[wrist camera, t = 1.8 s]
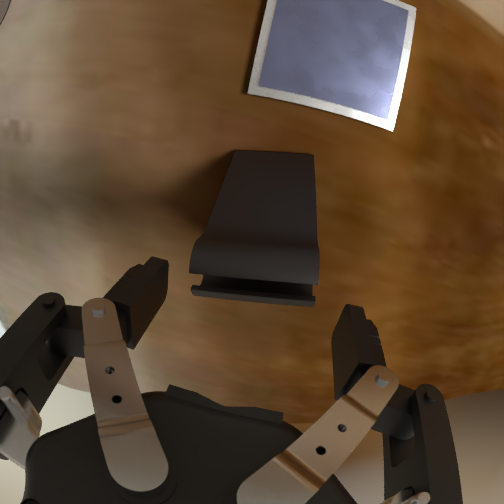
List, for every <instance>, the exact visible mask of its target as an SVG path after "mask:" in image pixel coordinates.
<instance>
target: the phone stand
mask: <svg viewBox="0 0 504 504" xmlns="http://www.w3.org/2000/svg"><path fill="white" fill-rule="evenodd" d="M319 261H320V257H319V247H318V241H317V215H316V190H315V170H314V155H310V154H297V153H282V152H264V151H237V150H236V151H235V153H234V156H233V158H232V161H231V163H230V166H229V168H228V171H227V173H226V176H225V179H224V181H223V184H222V186H221V189H220V192H219V194H218V197H217V200H216V202H215V205H214V208H213V210H212V213H211V216H210V219H209V221H208V224H207V227H206V229H205V231H204V233H203V234H202V235H201V237H199V238H198V239H197V241H196V242H195V244H194V247H193V250H192V254H191V259H190V266H189V273H193V274H203V280H202V283H201V285H200V286H197V285H192V287H191V292H192V294H193V295H195V296H202V297H211V298H220V299H229V300H239V301H249V302H259V303H270V304H281V305H293V306H305V307H314V304H315V296H312V287H313V284H315V285H318V279H319Z"/></svg>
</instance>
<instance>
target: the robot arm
mask: <svg viewBox="0 0 504 504" xmlns="http://www.w3.org/2000/svg"><path fill="white" fill-rule="evenodd" d="M9 2H10V0H0V23H1V21H2V19H3V17H4V15H5V13H6V11H7V8H8V5H9ZM168 268H169V263H168V261H167V260H164V259H160V258H156V257H151V258H150V259H149V260H148V261H147V262H146V263H145V264H144V265H140V264H138V265H136V266H134V267H132V268H130V269H129V270H128V271H127V272H126V273H125V274H124V276H122V277H121V278H120V279H119V281H118V282H117V283H116V284H115V285H114V286H113V287H112V288H111V289H110V290H109V292H108V293H107V294H106V295H105V296H104V297H103V298H94V299H91V300H89V301H87V302H86V303H85V304H84V305H83V306H82V307H81V306H71V305H65V300H64V298H63V296H62V295H60V294H58V293H54V292H50V293H45V294H42V295H40V296H39V297H38V298H37V299H36V300H35V301H34V302H33V303H32V304H31V305H30V306H29V307H28V308H27V309H26V310H25V311H24V312H23V313H22V315H21V316H20V317H19V318H18V319H17V320H16V321H15V322H14V323H13V324H12V326H11V327H10V328H9V329H8V330H7V331H6V332H5V334H4V335H3V336H2V337H1V338H0V458H1V459H4V460H9V459H10V460H11V461H13V462H14V463H16V464H17V465H19V466H20V467H22V468H23V469H25V473H26V482H25V491H24V496H23V499H22V502H21V503H20V504H357V503H356V501H354V499H353V498H352V496H351V495H350V494H349V493H348V492H347V490H346V489H345V488H344V486H343V485H342V484H341V483H340V481H339V480H338V479H337V477H336V476H335V475H334V472H335V471H336V470H337V469H338V467H339V466H340V465H341V464H342V463H343V462H344V461H345V459H346V458H347V457H348V456H349V454H350V453H351V452H352V451H353V450H354V449H355V447H356V446H357V445H358V444H359V442H360V441H361V440H362V439H363V437H364V436H365V435H366V434H367V432H368V431H369V430H370V429H373V430H375V431H378V432H381V433H382V434H383V452H384V501H383V502H382V503H380V504H463V501H462V492H461V484H460V476H459V470H458V463H457V458H456V452H455V447H454V442H453V437H452V432H451V427H450V423H449V419H448V414H447V410H446V406H445V402H444V398H443V396H442V394H441V392H440V391H439V390H438V389H437V388H436V387H434V386H432V385H430V384H422V385H420V386H419V387H418V388H417V389H416V390H413V389H410V388H407V387H405V386H402V385H400V384H399V380H398V377H397V376H396V374H395V373H394V372H393V371H392V370H391V369H389V368H387V367H386V362H385V358H384V354H383V350H382V346H381V342H380V338H379V334H378V331H377V328H376V326H375V325H374V324H373V322H372V321H371V320H367V319H366V317H365V313H364V309H363V307H359V306H355V305H350V304H346V305H345V307H344V309H343V311H342V313H341V316H340V318H339V320H338V322H337V325H336V327H335V329H334V331H333V335H332V341H331V344H332V358H333V373H334V392H335V400H338V401H337V402H336V403H335V404H334V405H333V406H332V407H331V408H330V409H329V410H328V411H327V412H326V413H325V414H324V415H323V416H322V417H321V418H320V419H319V420H318V421H317V422H316V423H314V424H313V425H312V426H311V427H310V428H309V429H308V430H307V431H306V432H305V433H304V434H303V433H301V432H300V431H299V430H298V429H296V428H295V427H294V426H292V425H290V424H288V423H287V422H284V421H282V419H283V412H277V411H272V410H267V409H262V408H257V407H226V406H222V405H220V404H218V403H216V402H214V401H212V400H210V399H208V398H206V397H204V396H202V395H200V394H198V393H196V392H193V391H189V390H186V389H183V388H180V387H176V386H173V385H170V384H169V387H168V389H167V391H166V392H163V391H154V392H147V393H142V394H141V393H140V390H139V387H138V384H137V381H136V377H135V374H134V371H133V367H132V364H131V361H130V357H129V353H128V350H127V347H128V348H130V349H133V350H134V348H135V347H136V345H137V343H138V342H139V340H140V339H141V337H142V335H143V334H144V332H145V331H146V329H147V327H148V326H149V324H150V323H151V321H152V320H153V318H154V316H155V315H156V313H157V312H158V310H159V309H160V307H161V306H162V304H163V302H164V301H165V298H166V295H167V289H168ZM74 357H81V358H85V362H86V368H87V375H88V381H89V386H90V392H91V397H92V402H93V407H94V411H95V414H93V415H91V416H88V417H86V418H83V419H81V420H79V421H76V422H74V423H71V424H69V425H67V426H64V427H61V428H59V429H56V430H53V431H51V432H48V433H46V434H44V435H42V436H40V437H39V435H40V430H41V426H42V420H41V417H40V415H39V413H40V411H41V409H42V408H43V406H44V404H45V403H46V401H47V399H48V398H49V396H50V394H51V393H52V391H53V389H54V388H55V386H56V385H57V383H58V381H59V380H60V378H61V377H62V375H63V373H64V372H65V370H66V369H67V367H68V366H69V364H70V363H71V361H72V359H73V358H74Z"/></svg>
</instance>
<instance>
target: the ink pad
mask: <svg viewBox="0 0 504 504" xmlns="http://www.w3.org/2000/svg"><path fill="white" fill-rule="evenodd" d="M415 16H416V8H415V7H413V6H410V5H408V4H405V3H403V2H400V1H398V0H268V1H267V5H266V10H265V14H264V19H263V23H262V27H261V32H260V36H259V41H258V46H257V50H256V55H255V60H254V64H253V69H252V74H251V79H250V84H249V89H248V94H252V95H258V96H263V97H268V98H273V99H278V100H283V101H288V102H292V103H297V104H301V105H305V106H309V107H313V108H317V109H321V110H325V111H329V112H332V113H336V114H340V115H343V116H346V117H350V118H353V119H356V120H360V121H363V122H366V123H369V124H372V125H375V126H378V127H381V128H384V129H387V130H390V131H393V129H394V125H395V121H396V116H397V112H398V108H399V104H400V99H401V95H402V90H403V86H404V81H405V76H406V71H407V66H408V60H409V55H410V49H411V43H412V37H413V30H414V23H415Z"/></svg>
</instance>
